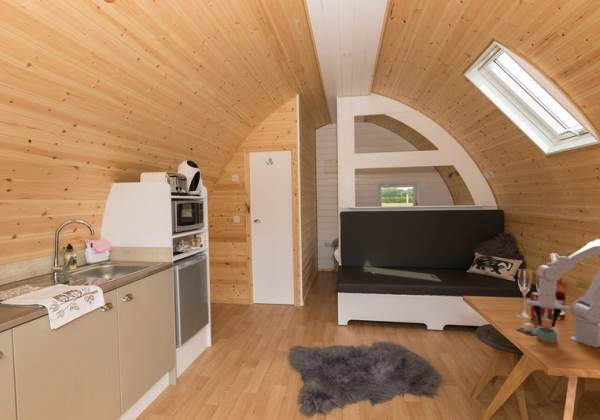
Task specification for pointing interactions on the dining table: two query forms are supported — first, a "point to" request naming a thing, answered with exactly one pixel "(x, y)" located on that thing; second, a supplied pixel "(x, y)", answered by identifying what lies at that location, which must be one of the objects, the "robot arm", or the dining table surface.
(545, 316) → the soda can
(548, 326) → the ball terracotta
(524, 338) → the dining table surface
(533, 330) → the slate tray
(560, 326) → the dining table surface
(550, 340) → the teal tube
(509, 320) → the dining table surface
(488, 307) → the dining table surface
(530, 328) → the ball cream
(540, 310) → the robot arm
